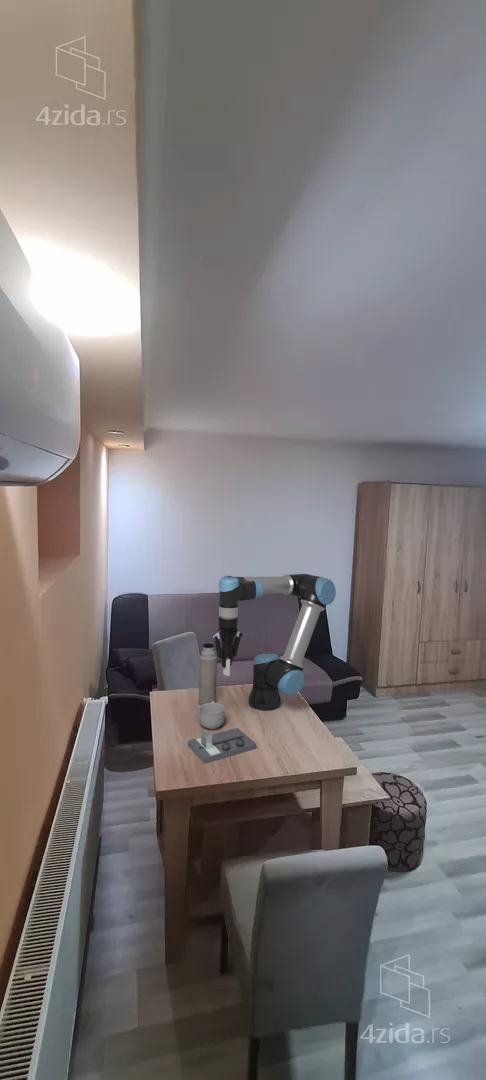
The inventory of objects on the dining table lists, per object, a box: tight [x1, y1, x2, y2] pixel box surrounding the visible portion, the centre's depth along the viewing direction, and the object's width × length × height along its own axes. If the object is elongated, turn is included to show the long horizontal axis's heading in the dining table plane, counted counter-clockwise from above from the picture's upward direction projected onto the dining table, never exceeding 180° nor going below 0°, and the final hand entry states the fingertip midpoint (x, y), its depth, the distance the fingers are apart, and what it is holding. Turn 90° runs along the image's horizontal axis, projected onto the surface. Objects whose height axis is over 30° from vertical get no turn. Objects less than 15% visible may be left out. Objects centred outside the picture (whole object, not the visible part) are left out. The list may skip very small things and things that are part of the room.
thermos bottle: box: [198, 642, 218, 707], centre depth 213 cm, size 8×8×28 cm
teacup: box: [198, 701, 226, 731], centre depth 194 cm, size 14×11×8 cm
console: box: [187, 727, 257, 765], centre depth 176 cm, size 22×14×4 cm, turn 121°
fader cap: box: [200, 729, 213, 749], centre depth 173 cm, size 2×4×5 cm, turn 31°
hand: (226, 674), depth 185 cm, fingers closed
